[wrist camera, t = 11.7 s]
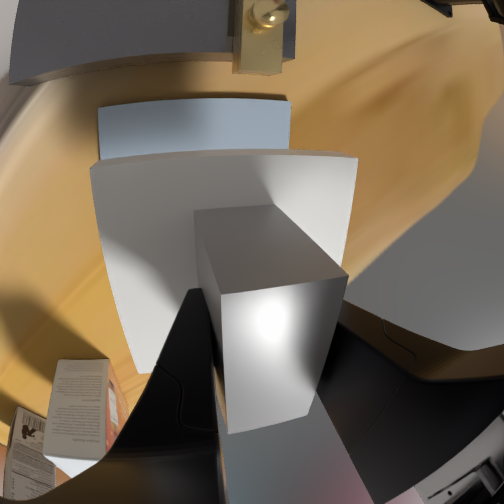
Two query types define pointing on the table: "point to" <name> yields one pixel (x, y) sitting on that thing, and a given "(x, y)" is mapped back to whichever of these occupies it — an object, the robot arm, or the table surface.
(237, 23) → the pegged block
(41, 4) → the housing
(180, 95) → the table surface
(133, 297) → the lid
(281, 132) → the pad
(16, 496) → the coffee box
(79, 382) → the small box
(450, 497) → the robot arm
